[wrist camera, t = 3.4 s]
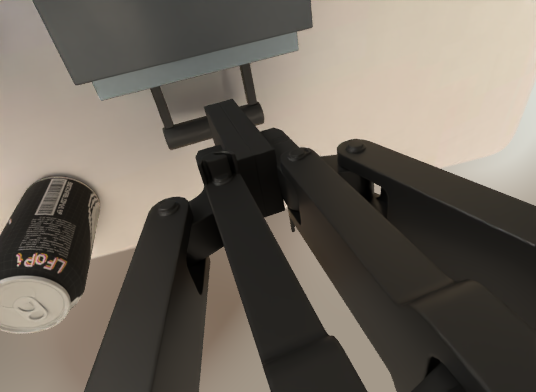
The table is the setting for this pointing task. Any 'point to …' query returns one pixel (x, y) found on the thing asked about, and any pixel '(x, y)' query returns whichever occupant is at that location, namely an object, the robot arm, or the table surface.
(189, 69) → the drawer
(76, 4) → the grey drawer cabinet
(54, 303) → the beverage can
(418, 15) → the table surface
